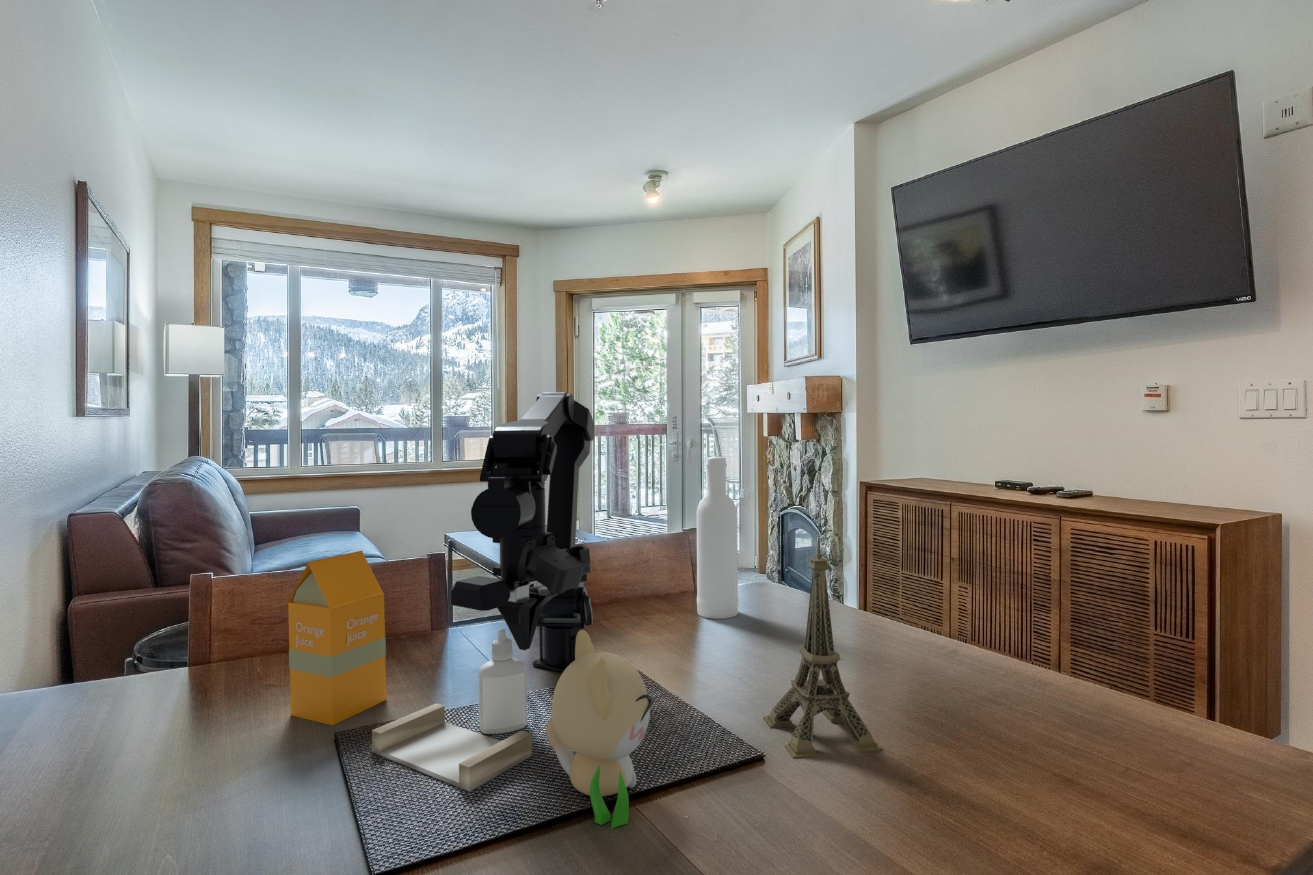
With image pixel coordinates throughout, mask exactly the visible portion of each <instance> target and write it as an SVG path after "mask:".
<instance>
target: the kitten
mask: <svg viewBox="0 0 1313 875" xmlns="http://www.w3.org/2000/svg"><path fill="white" fill-rule="evenodd" d="M652 705H653V697H652V696H651V695H649V694H648V690H647V688H646V684H645V682H644V680H643V677H642V676H641V674H640V673H639V671H638V669H637V668H636V667H635V666H634V665H633V664H632V663H631V662H630V661H629V660H628V659H626V658H624V657H623V656H621V655H618V654H615V653H611V652H606V651H596V649H595V646H594V644H593V642H592V640H591V637H590V634H589V633H588V632H587V631H586V630H584V629H583V630H580V631H579V632H578V633H577V636H576V645H575V661H573V662H572V663H571V664H570V665H569V666H568V667H567V668H566V669H565V670H564V672H561V675H560V677H559V679H558V680H557V683H556V686H555V688H554V692H553V695H552V702H551V712H550V713H551V719H549V720H548V722H547V723H546V727H545V733H546V738H547V741H548V743H549V745H550V746H551V748H552V749H553V750H554V752H555V755H556V756H557V758H558V762H559V763H560V766H561V767H562V769H563V771H564V772H565V773H566V774H567V775H568V776H569V780H570V783H571V784H572V786H573V787H574V789H576V790H577V791H578V792H580V793H582V794H584V795H587V796H589V798H590V802H591V806H592V810H593V814H594V823H595V824H598V825H600V826H602V825H604V824H607V823H609V822H610V825H611V827H610V829H615V828H617V827H620V826H623V825H628V824H629V813H630V812H629V811H630V805H629V804H630V800H629V794H628V789H627V788H630V789H633V788H634V787H635V786H636V785H637V774H636V772H635V770H634V765H633V761H632V758H631V756H630V754H631V753H633V752H634V751H635V750H636V749H637V748H638V747H639V745H640V744H641V743H642V740H643V739H644V737H645V734H646V732H647V730H648V727H649V723H650V717H651V707H652ZM574 753H575V754H574ZM616 794H617V799H616V802H615V806H614V810H613V813H612V816H611V813H610V811H609V809H608V807H607V805H606V803H605V801H604V799H603V797H607V796H611V795H616Z"/></svg>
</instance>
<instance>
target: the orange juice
mask: <svg viewBox="0 0 1313 875" xmlns="http://www.w3.org/2000/svg"><path fill="white" fill-rule="evenodd" d="M287 605H288V607H287V608H288V609H287V610H288V641H289V643H288V645H289V646H288V647H289V649H288V655H289V656H288V657H289V658H288V661H289V662H288V665H289V680H290V681H289V682H290V683H289V685H290V686H289V687H290V688H289V690H290V716H293V717H297V718H301V719H306V720H309V721H313V722H318V723H321V724H327V725H331V726H334V725H336V724H339V723H341V722H342V721H344V720H347V719H349V718H351V717H353V716H355V715H357V714H359V713H362V712H364V711H365V710H368V709H370V708H372V707H374V706H376V705H379V704H380V703H383V702H385V701H387V668H386V667H387V666H386V665H387V664H386V663H387V661H386V658H387V657H386V656H387V646H386V645H387V644H386V643H387V642H386V640H387V639H386V619H385V612H386V611H385V592H383V589H382V588H381V585H380V583H379V581H378V579H377V578H376V576H375V574H374V572H373V570H372V567H371V566H370V564H369V562H368V560H367V558H366V556H365V554H364V552H363V549H362V550H359V551H355V552H348V553H345V554H340V555H335V556H331V557H330V556H329V557H325V558H322V559H317V560H313V561H308V562H307V564H306V566H305V568H304V569H303V572H302V574H301V577H300V578H299V580H298V583H297V585H296V586H295V588H294V591H293V593H292V594H291V596H290V599H289V601H288V603H287Z"/></svg>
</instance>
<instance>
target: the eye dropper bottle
mask: <svg viewBox="0 0 1313 875" xmlns="http://www.w3.org/2000/svg"><path fill="white" fill-rule="evenodd" d="M491 654H492V655H491V660H488V661H487V662H485V663H484V664H482V665H481V666H480V667H479V668H478V717H479V718H478V719H479V720H478V722H479V729H480V732H481V733H482V734H483V735H500V734H507V733H512V732H516V731H520V730H522V729H524V728H525V727H526V726H527V725H528V692H527V691H528V690H527V685H528V684H527V683H528V682H527V679H528V678H527V667H526V664H525V662H524V661H523V660H521V659H520V658H515V657H513V640H512V639H510V638H508V637H507V634H506V629H503V628H502V629H498V634H497V638H496V639H494V640H493V641H492V642H491Z"/></svg>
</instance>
